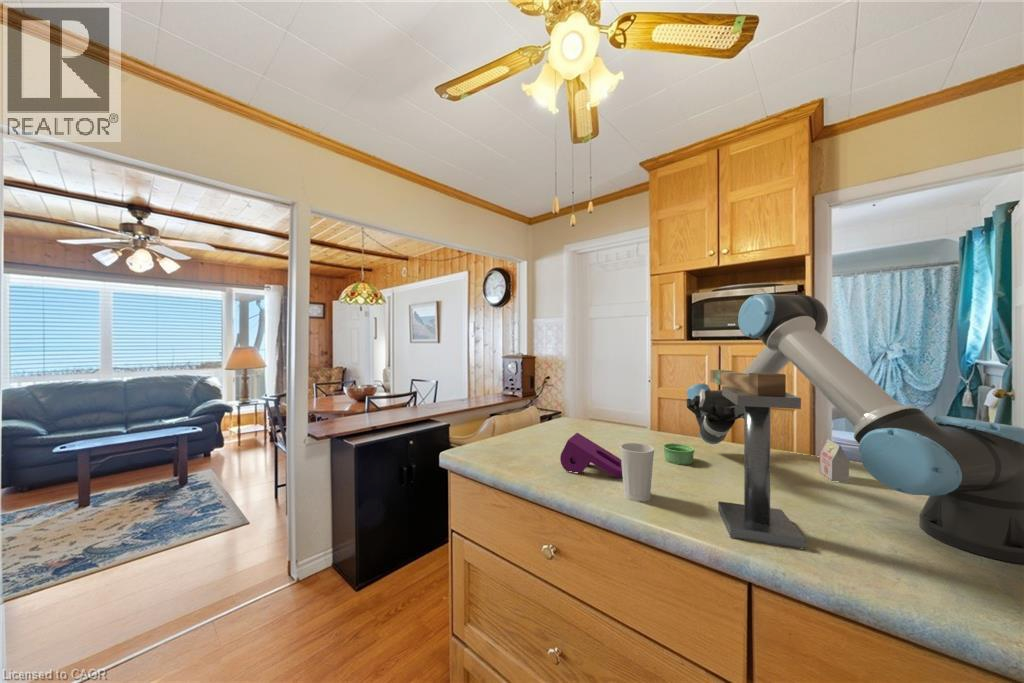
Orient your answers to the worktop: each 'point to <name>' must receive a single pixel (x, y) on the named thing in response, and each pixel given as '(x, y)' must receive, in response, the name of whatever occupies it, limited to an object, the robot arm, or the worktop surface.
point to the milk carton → (834, 462)
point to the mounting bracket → (588, 456)
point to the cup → (637, 470)
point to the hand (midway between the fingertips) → (732, 394)
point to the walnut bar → (751, 382)
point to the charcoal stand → (759, 475)
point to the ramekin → (678, 453)
